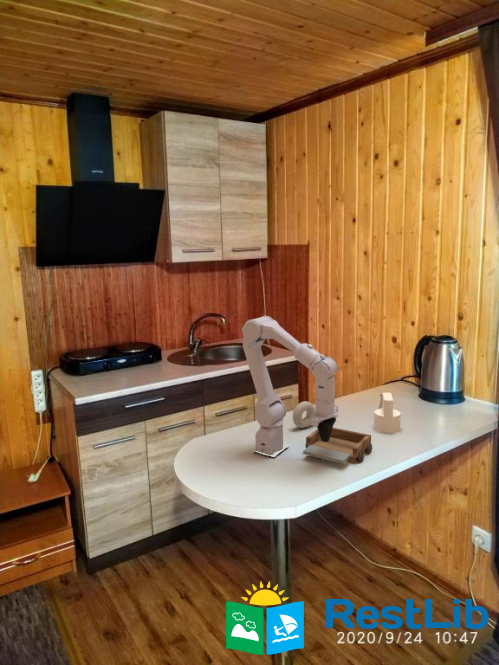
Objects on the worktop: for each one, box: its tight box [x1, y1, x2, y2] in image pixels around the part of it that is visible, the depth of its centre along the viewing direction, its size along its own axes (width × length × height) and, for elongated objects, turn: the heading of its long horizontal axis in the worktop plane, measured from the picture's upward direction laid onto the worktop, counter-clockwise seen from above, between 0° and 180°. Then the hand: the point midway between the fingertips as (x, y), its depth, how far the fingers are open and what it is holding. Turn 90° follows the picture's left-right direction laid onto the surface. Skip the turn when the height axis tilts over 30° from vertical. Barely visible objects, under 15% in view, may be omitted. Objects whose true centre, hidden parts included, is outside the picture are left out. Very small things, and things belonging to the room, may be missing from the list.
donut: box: [292, 400, 316, 429], centre depth 175 cm, size 10×4×10 cm, turn 124°
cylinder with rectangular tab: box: [373, 392, 401, 434], centre depth 171 cm, size 9×9×12 cm
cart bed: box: [305, 427, 373, 465], centre depth 155 cm, size 12×19×5 cm, turn 55°
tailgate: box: [302, 445, 350, 465], centre depth 148 cm, size 2×14×5 cm
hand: (325, 440), depth 146 cm, fingers closed
